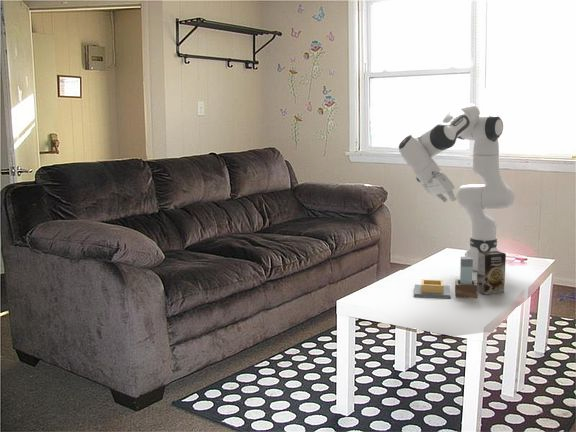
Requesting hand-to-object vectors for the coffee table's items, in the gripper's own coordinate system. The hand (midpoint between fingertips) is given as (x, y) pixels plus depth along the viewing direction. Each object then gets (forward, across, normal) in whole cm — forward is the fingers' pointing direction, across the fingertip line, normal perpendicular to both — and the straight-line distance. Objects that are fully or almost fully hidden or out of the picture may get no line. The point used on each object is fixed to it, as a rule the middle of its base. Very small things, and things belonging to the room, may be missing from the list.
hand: (449, 200), depth 249 cm
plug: (+34, +3, +17) cm, 38 cm away
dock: (+26, +8, +26) cm, 38 cm away
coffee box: (+41, +5, +7) cm, 42 cm away
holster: (+34, +3, +17) cm, 38 cm away
